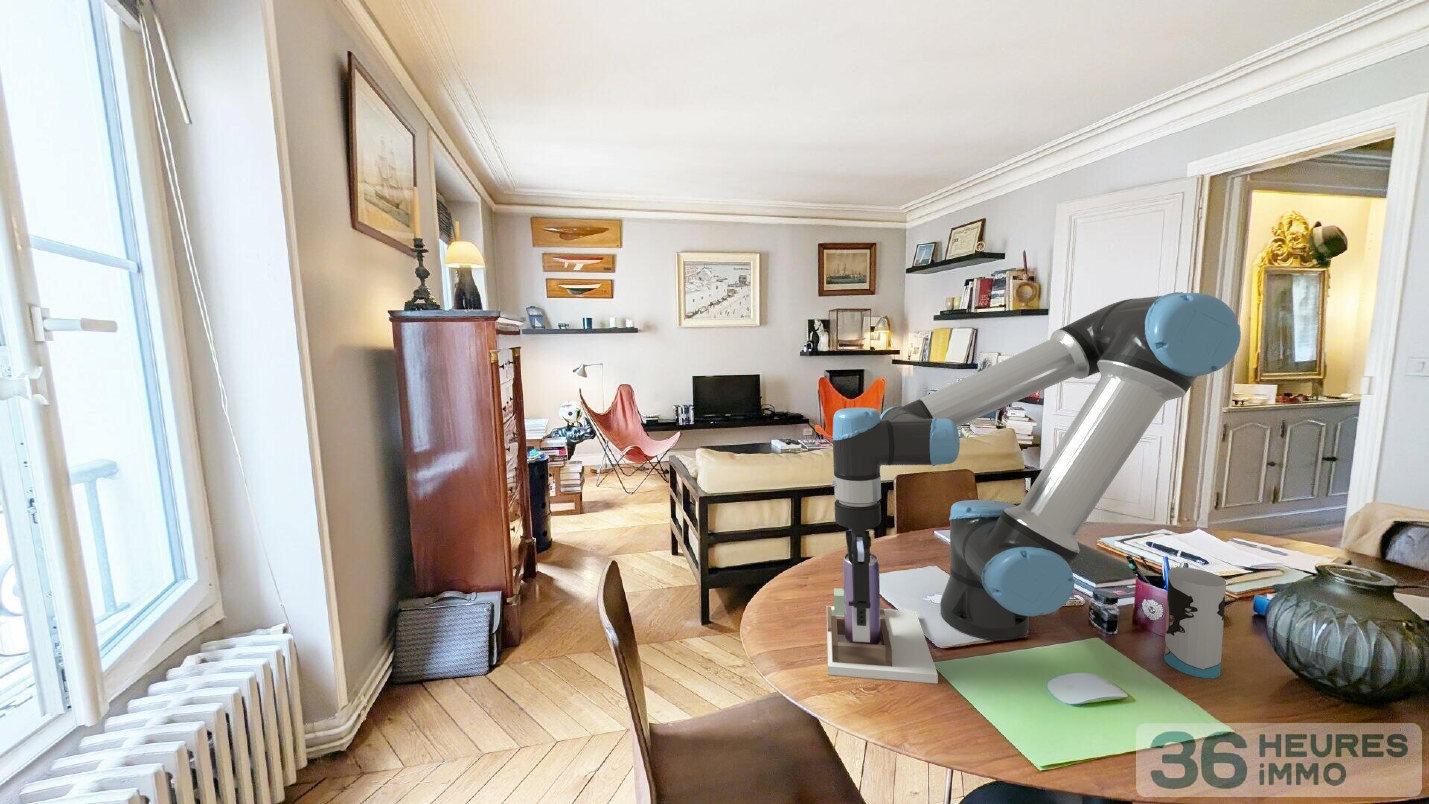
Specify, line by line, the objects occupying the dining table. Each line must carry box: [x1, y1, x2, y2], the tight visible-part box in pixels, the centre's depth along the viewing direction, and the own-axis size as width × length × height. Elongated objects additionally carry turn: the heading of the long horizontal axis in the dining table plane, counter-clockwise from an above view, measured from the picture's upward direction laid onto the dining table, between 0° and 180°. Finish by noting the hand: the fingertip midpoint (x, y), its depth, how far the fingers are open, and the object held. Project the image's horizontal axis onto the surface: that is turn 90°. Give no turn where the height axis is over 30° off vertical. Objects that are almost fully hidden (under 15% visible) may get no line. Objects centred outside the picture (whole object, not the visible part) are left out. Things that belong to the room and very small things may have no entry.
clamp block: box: [833, 587, 844, 616], centre depth 102 cm, size 8×3×4 cm, turn 78°
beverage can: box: [842, 552, 881, 645], centre depth 90 cm, size 6×6×15 cm
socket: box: [831, 616, 892, 667], centre depth 91 cm, size 10×10×3 cm
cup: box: [1163, 566, 1227, 679], centre depth 83 cm, size 7×7×15 cm
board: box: [826, 605, 939, 684], centre depth 94 cm, size 17×20×2 cm
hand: (859, 629), depth 90 cm, fingers closed on beverage can, 6 cm apart
